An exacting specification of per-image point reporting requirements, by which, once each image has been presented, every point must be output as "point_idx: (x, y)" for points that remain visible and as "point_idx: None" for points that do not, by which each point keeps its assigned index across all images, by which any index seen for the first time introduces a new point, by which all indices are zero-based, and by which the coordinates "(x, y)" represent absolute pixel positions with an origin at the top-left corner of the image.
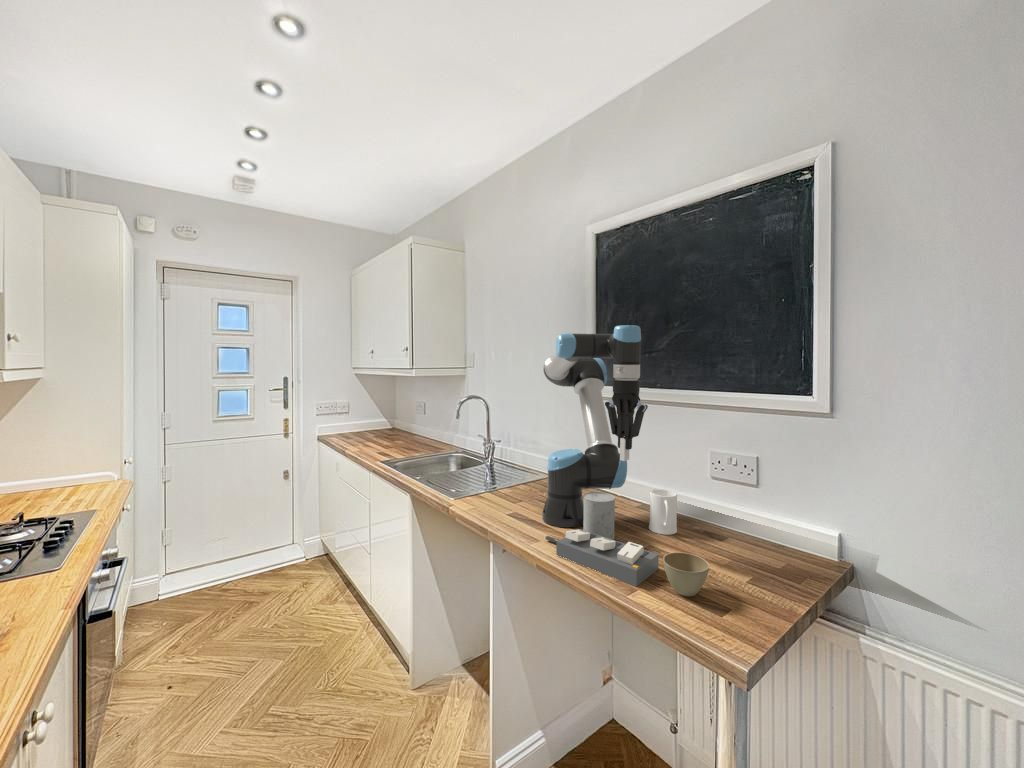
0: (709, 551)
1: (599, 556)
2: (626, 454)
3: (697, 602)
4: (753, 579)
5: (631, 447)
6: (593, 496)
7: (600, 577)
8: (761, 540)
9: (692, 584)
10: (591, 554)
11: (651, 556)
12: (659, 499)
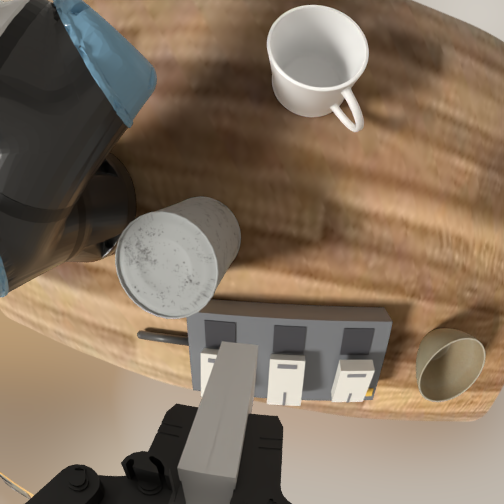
0: (442, 149)
1: None
2: (251, 401)
3: None
4: None
5: (282, 431)
6: (145, 269)
7: None
8: (484, 34)
9: (454, 376)
10: None
11: (382, 340)
12: (324, 94)
